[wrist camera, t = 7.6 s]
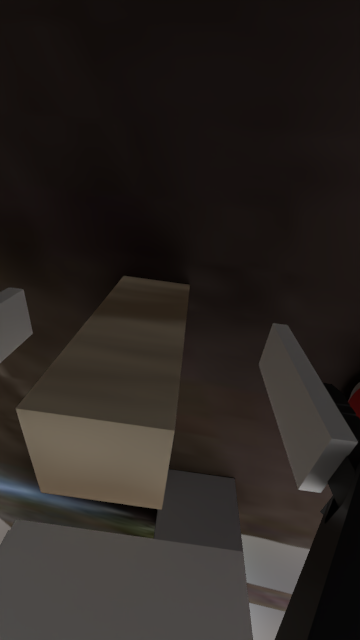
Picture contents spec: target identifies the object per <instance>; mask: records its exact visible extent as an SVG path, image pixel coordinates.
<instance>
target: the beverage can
mask: <svg viewBox="0 0 360 640" xmlns="http://www.w3.org/2000/svg"><path fill="white" fill-rule="evenodd" d="M348 402H349V404H350V407H352V408H353V410H354V411H355V413H356V416H358V417H359V419H360V382H359V383H358V384H357V385H356V386H355V388H354V389H353V391H352V392H351V395H350V398H349V400H348Z"/></svg>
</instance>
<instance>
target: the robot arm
mask: <svg viewBox="0 0 360 640" xmlns="http://www.w3.org/2000/svg"><path fill="white" fill-rule="evenodd" d="M32 334H33V332H32V327H31V323H30V318H29V313H28V308H27V304H26V299H25V294H24V289H18V288H10V287H9V288H7V289H5V290H3V291H2V292H0V363H1V362H2V361H3V360H4V359H5V358H6V357H7V356H9V355H10V354H11V353H12V352H13V351H14V350H15V349H16V348H17V347H18V346H20V345H21V344H22V343H23V342H24V341H25V340H26V339H27V338H28V337H29V336H31V335H32ZM259 367H260V370H261V374H262V377H263V380H264V383H265V386H266V389H267V393H268V396H269V399H270V402H271V405H272V408H273V412H274V415H275V418H276V421H277V424H278V427H279V431H280V434H281V437H282V440H283V443H284V446H285V450H286V453H287V456H288V459H289V462H290V465H291V469H292V472H293V475H294V478H295V481H296V484H297V488H298V490H305V491H312V492H319V493H321V491H322V490H323V489H324V487H325V486H326V485H327V483H328V484H329V487H330V489H331V491H332V494H333V496H332V498H331V499H330V500H329V501H328V503H327V504H326V505H325V506H324V508H323V509H322V510H321V511H320V512H321V513H322V514H323V518H322V520H321V523H320V525H319V528H318V530H317V533H316V536H315V538H314V541H313V543H312V546H311V548H310V551H309V554H308V556H307V559H306V561H305V564H304V567H303V569H302V571H301V574H300V576H299V579H298V581H297V584H296V587H295V589H294V592H293V594H292V597H291V599H290V602H289V604H288V607H287V610H286V612H285V615H284V617H283V620H282V623H281V625H280V627H279V630H278V633H277V635H276V638H275V640H360V419H359V417H358V416H356V413H355V411H354V410H353V408H352V407H350V404H349V402H348V401H347V399H346V398H345V396H344V395H343V394H342V393H341V392H340V391H339V390H338V389H337V388H336V387H334V386H333V385H332V384H327V383H322V381H321V380H320V378H319V376H318V375H317V373H316V371H315V370H314V368H313V366H312V365H311V363H310V361H309V360H308V358H307V356H306V355H305V353H304V352H303V350H302V348H301V347H300V345H299V343H298V342H297V340H296V338H295V337H294V335H293V333H292V332H291V330H290V328H289V327H288V325H282V324H275V323H273V324H272V327H271V330H270V333H269V336H268V339H267V342H266V345H265V348H264V350H263V353H262V356H261V359H260V362H259Z"/></svg>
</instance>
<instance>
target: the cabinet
mask: <svg viewBox="0 0 360 640" xmlns="http://www.w3.org/2000/svg"><path fill="white" fill-rule="evenodd" d="M0 640H253V635H252V627H251V618H250V609H249V600H248V591H247V583H246V574H245V565H244V556H243V548H242V540H241V530H240V521H239V512H238V504H237V495H236V486H235V478H227V477H220V476H213V475H206V474H199V473H192V472H185V471H178V470H171V469H168V475H167V481H166V487H165V493H164V499H163V505H162V510H160V509H158V511H157V518H156V525H155V532H154V539H151V538H144V537H137V536H130V535H123V534H116V533H109V532H102V531H95V530H88V529H81V528H74V527H67V526H60V525H53V524H46V523H39V522H32V521H25V520H18V519H16V520H15V522H14V524H13V526H12V528H11V530H9V531H8V532H7V534H6V536H5V537H4V539H3V541H2V543H1V545H0Z"/></svg>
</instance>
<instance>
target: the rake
mask: <svg viewBox="0 0 360 640" xmlns="http://www.w3.org/2000/svg"><path fill="white" fill-rule="evenodd" d="M189 289H190V285H188V284H181V283H173V282H166V281H159V280H152V279H144V278H137V277H130V276H123V277H122V279H121V280H120V281H119V282H118V283H117V285H116V286H115V287H114V288H113V290H112V291H111V292H110V293H109V294H108V296H107V297H106V298H105V299H104V301H103V302H102V303H101V304H100V305H99V307H98V308H97V309H96V310H95V312H94V313H93V314H92V315H91V317H90V318H89V319H88V320H87V321H86V323H85V324H84V325H83V326H82V328H81V329H80V330H79V331H78V332H77V334H76V335H75V336H74V337H73V339H72V340H71V341H70V342H69V343H68V345H67V346H66V347H65V348H64V350H63V351H62V352H61V353H60V354H59V356H58V357H57V358H56V359H55V361H54V362H53V363H52V364H51V366H50V367H49V368H48V369H47V370H46V372H45V373H44V374H43V375H42V377H41V378H40V379H39V380H38V381H37V383H36V384H35V385H34V386H33V388H32V389H31V390H30V391H29V392H28V394H27V395H26V396H25V397H24V399H23V400H22V401H21V402H20V403H19V405H18V406H17V407H16V412H17V415H18V418H19V421H20V425H21V428H22V431H23V435H24V438H25V441H26V445H27V448H28V451H29V454H30V458H31V461H32V464H33V468H34V471H35V474H36V478H37V481H38V484H39V488H40V491H41V492H42V493H49V494H56V495H63V496H69V497H76V498H83V499H90V500H97V501H104V502H111V503H118V504H125V505H132V506H139V507H146V508H153V509H160V510H162V505H163V499H164V493H165V487H166V481H167V475H168V469H169V462H170V456H171V450H172V444H173V438H174V432H175V423H176V413H177V404H178V394H179V385H180V375H181V366H182V356H183V347H184V337H185V327H186V318H187V308H188V299H189Z"/></svg>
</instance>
